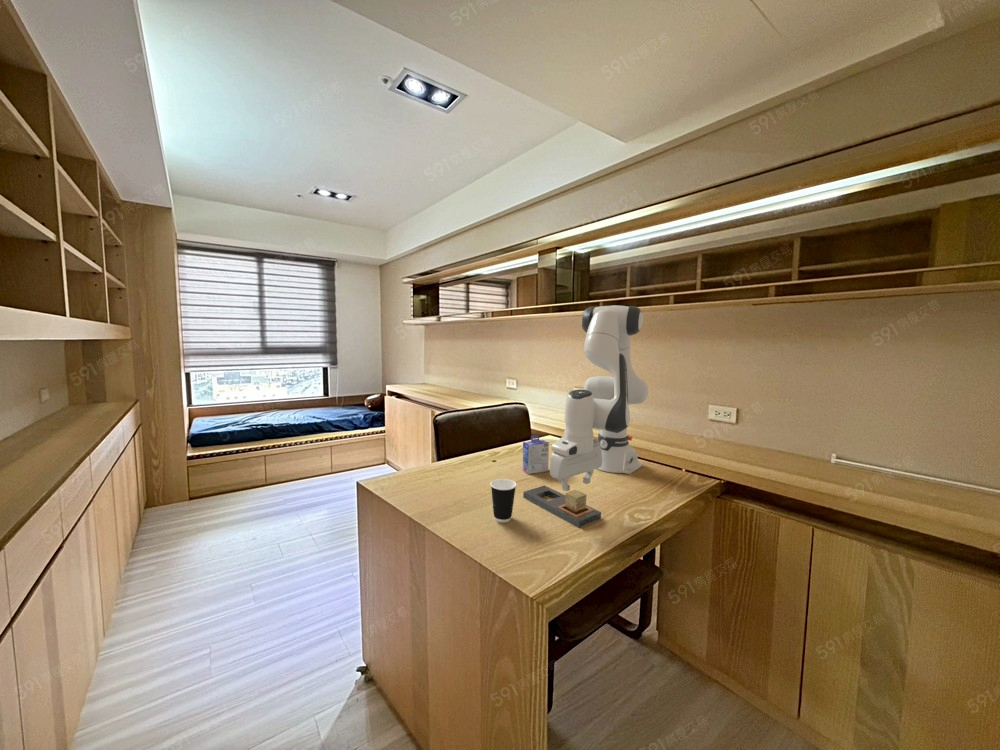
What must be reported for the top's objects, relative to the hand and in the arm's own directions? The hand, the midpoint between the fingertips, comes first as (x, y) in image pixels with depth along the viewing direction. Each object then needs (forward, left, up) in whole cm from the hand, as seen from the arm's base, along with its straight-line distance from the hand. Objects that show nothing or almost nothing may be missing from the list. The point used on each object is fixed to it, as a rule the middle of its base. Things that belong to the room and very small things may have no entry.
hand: (576, 486), depth 117 cm
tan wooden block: (0, 0, -9) cm, 9 cm away
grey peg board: (0, -6, -9) cm, 11 cm away
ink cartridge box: (-16, -36, -9) cm, 40 cm away
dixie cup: (+20, -11, -9) cm, 25 cm away
